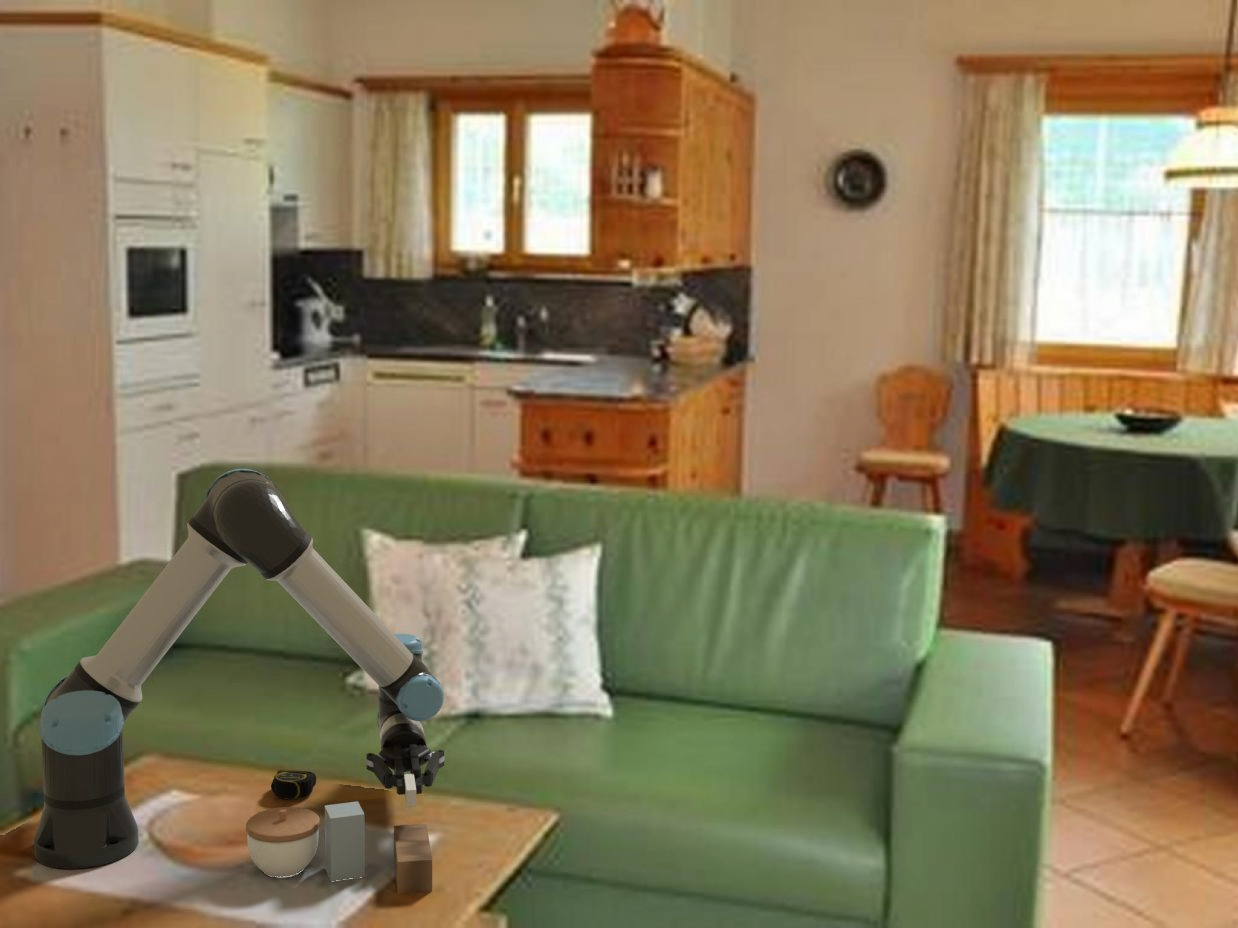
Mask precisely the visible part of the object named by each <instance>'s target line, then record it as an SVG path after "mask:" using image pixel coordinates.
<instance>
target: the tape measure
mask: <svg viewBox="0 0 1238 928" xmlns="http://www.w3.org/2000/svg"><path fill="white" fill-rule="evenodd" d="M316 783H317V774H315V773H314V772H311V771H307V770H283V769H281V770H278V771H277V772H276V774H275V775H274V776H273V779H272V782H271V785H270V789H271V792H273V794H274V795H275V797H277V798H279V799H280V798H281V799H284V800H298V799H302V798H305V797H308V796H309V795H311V794H312V793H313V790H314V787H315V785H316Z"/></svg>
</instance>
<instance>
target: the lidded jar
mask: <svg viewBox="0 0 1238 928" xmlns="http://www.w3.org/2000/svg"><path fill="white" fill-rule="evenodd" d="M245 825H246V826H245V830H246V835H247V836H246V838H247V847H248V852H249V855H250V858H251V860H252V862H253V864H254V865H255V866H256V867H257V868H258V869H259V870H260V871H261V872H265V874H267V875H268V876H272V877H275V876H276V877H277V876H278V877H280V876H281V877H283V876H290V875H294V874H296V873H299V872H300V871H302V870H303V869H304V868H306V867H308V865H310V863H312V861H313V859H314V857H315V855H316V852H317V849H318V845H319V838H320V837H319V836H320V817H319V815H318V813H316V812H314V811H313V810H311V809H308V808H303V807H297V806H283V807H282V806H280V807H275V808H274V807H273V808H269V809H266V810H265V809H264V810H262V811H260V812H259V811H258V812H256V813H255V814H253V815H252V816H250V818H248V819H247V821H246V824H245ZM304 870H305V869H304ZM265 874H264V875H265ZM268 876H267V877H268Z"/></svg>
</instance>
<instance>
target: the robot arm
mask: <svg viewBox="0 0 1238 928" xmlns="http://www.w3.org/2000/svg"><path fill="white" fill-rule="evenodd" d="M186 526H187V532H188V535H187V536H188V537H187V538H186V540H185V541H184V542H183V544H182V545H181V547H180V548H179V549H178V550H177V551H176V553H175V554H174V555H173V556H172V558H171V559H170V561H169V562H168V563H167V564H166V566H165V567H164V568H163V570H162V571H160V573H159V574H158V575H157V577H156V579H154V581H153V582H152V583H151V585H150V586H149V587H148V589H147V590H146V591H145V592H144V594H143V595H142V596H141V598H140V599H139V600H138V601H137V603H136V604H135V605H134V607H132V609H131V610H130V612H129V613H128V615H127V616H126V617H125V618H124V619H123V621H122V622H121V624H120V625H119V626H118V627H117V629H116V630H115V631H114V632H113V634H112V635H111V636H110V637H109V639H108V640H107V641H106V643H104V645H103V646H102V648H101V649H100V650H99V652H98V653H97V654H96V655H91V656H85V657H82V658H81V659H80V660H79V661H78V663H77V664H76V665H75V667H74V668H73V669H72V670H71V671H70V673H69V674H67V675H66V676H64V677H62V678H61V679H59V680H58V681H57V682H56V683H55V684H54V686H53V687H51V689H50V691H49V692H48V694H47V696H46V698H45V700H44V703H43V707H42V710H41V714H40V721H39V734H40V735H39V736H40V737H41V738H40V741H41V757H42V758H41V760H42V761H41V762H42V779H43V804H44V805H43V809H42V811H41V815H40V817H39V822H38V825H37V828H36V831H35V835H34V838H33V856H34V858H35V860H37V862H39V863H40V864H42V865H45V866H48V867H51V868H57V869H66V870H67V869H69V870H70V869H72V870H73V869H75V870H76V869H86V868H93V867H97V866H98V867H99V866H102V865H106V864H110V863H113V862H116V861H119V860H120V859H122V858H124V857H126V856H128V855H130V854H131V853H133V852H134V850H135V849H136V848H137V847H138V845H139V829H138V828H139V827H138V824H137V821H136V819H135V816H134V814H133V811H132V810H131V807H130V804H129V802H128V800H127V799H128V798H127V797H126V789H125V787H126V786H125V760H124V759H125V758H124V756H125V755H124V730H123V728H124V724H125V722H126V721H127V720H128V719H129V717H130V716H131V715H132V714H133V712H134V711H135V709H136V708H137V706H139V704H140V703H141V701H142V700H143V693H142V685H143V684H144V682H145V681H146V680H147V678H148V677H149V676H150V674H151V673H152V672H153V670H154V669H155V668H156V666H157V665H158V664H159V663H160V661H161V660H162V659H163V658H164V656H165V655H166V653H167V652H168V651H169V650H170V648H171V647H172V646H173V644H175V642H176V641H177V640H178V638H179V637H180V636H181V634H182V633H183V632H184V630H185V629H186V628H187V627H188V625H189V624H190V623H191V621H192V620H193V618H194V617H196V615H197V614H198V612H200V610H201V608H202V607H203V606H204V605H205V603H206V602H207V601H208V600H209V598H210V597H211V596H212V594H214V591H216V589H217V588H218V586H219V585H220V584H221V583H222V581H223V580H224V579H225V577H226V576H227V575H228V574H229V572H230V571H231V570H232V569H234V568H239V567H245V566H246V565H247V564H250V565H251V566H252V567H253V568H254V569H255V570H256V571H257V572H258V573H259V574H260V575H261V576H262V577H263V578H264V579H265V580H266V581H269V582H270V581H272V582H273V581H274V582H275V581H276V582H277V583H278V584H279V585H280V586H281V587H283V589H284V590H285V591H286V592H287V593H288V594H289V595H290V596H291V597H292V598H293V600H295V601H296V602H297V603H298V604H299V605H300V606H301V607H302V608H303V609H304V611H306V613H307V614H308V615H310V617H311V618H312V619H313V620H314V621H315V622H316V623H317V624H318V625H319V626H320V627H321V628H322V629H323V630H324V631H325V632H326V633H327V634H328V635H329V636H330V637H331V638H332V639H333V640H334V641H335V642H336V643H337V645H339V647H341V649H343V651H345V653H346V654H347V655H349V657H350V658H352V660H353V662H355V663H356V664H357V665H358V666H359V667H360V668H361V669H362V670H363V671H364V672H365V673H366V674H367V675H368V676H369V678H370V679H372V680H373V681H374V682H375V684H376V685H377V686H378V698H377V699H378V701H377V702H378V705H377V706H378V708H377V709H378V710H377V711H378V712H377V722H376V723H377V726H378V728H379V739H380V740H379V741H380V742H379V743H380V751H379V752H378V753H377V754H375V753H372V752H369V753H366V759H365V760H366V764H365V765H366V770H368V771H370V772H372V773H373V774H374V776H375V777H376V778H377V779H378V781H379V782H380V783H381V785H382V786H383V787H384V788H385V789H387V790H390V789H393V787H395V789H396V794H397V795H399V796H400V795H404V798H405V806H406V808H415V807H417V795H420V794H422V793H423V785H424V787H428V788H429V787H431V786H433V783H434V781H435V779H436V777H437V774H438V772H439V769H440V770H441V768H442V767H444V766H445V749H438V750H436V751H432V749H431V748H429V747H428V745H427V740H426V735H425V732H424V731H425V730H424V727H423V722H424V721H428V720H431V719H432V718H433V717H435V716H436V715H437V714H438V713H439V712H440V711H441V709H442V706H443V704H444V700H445V697H444V690H443V688H442V686H441V683H440V681H439V680H438V679H437V678H436V677H435V676H434V675H433V674H432V672H431V671H430V670H429V668H428V667H427V666H426V665H425V663H424V662H423V659H422V658H423V654H424V652H423V649H422V647H423V646H422V640H421V639H420V637H418V636H417V635H414V634H410V633H393V632H392V630H391V629H390V628H389V627H388V626H387V625H386V624H385V623H384V622H383V621H382V620H381V619H380V617H378V615H376V614H375V612H374V611H373V610H372V609H371V608H370V607H369V606H368V605H367V604H366V603H365V602H364V601H363V599H361V597H360V596H359V595H358V594H357V593H356V592H355V591H354V590H353V589H352V588H351V587H350V585H348V584H347V582H345V581H344V580H343V578H341V577H340V575H339V574H338V573H337V572H336V571H335V570H334V569H333V568H332V567H331V566H330V565H329V564H328V563H327V562H326V560H325V559H324V558H323V557H322V556H321V555H320V554H319V553H318V552H317V551H316V550H315V549H314V546H313V543H314V542H313V541H314V539H313V537H312V536H311V535H310V534H309V533H308V532H307V531H306V530H305V529H304V527H303V526H302V525H301V523H300V522H299V520H298V519H297V517H296V516H295V515H294V513H293V512H292V510H291V509H290V507H289V505H288V502H287V501H286V499H285V498H284V496H283V495H282V494H281V492H280V490H279V489H278V487H277V485H276V484H275V482H273V481H272V480H271V479H270V478H269V477H268V476H266V475H264V474H263V473H260V472H259V471H256V470H253V469H250V468H235V469H231V470H228V471H226V472H224V473H222V474H220V475H219V476H218V477H217V478H216V479H215V480H214V481H213V482H212V483H211V484H210V486H209V488H208V491H206V495H205V498H204V502H202V504H201V506H199V508H198V509H197V510H196V512H195V513H194V514H193V515H192V517H191V518H190V520H188V522H187V524H186ZM425 764H426V767H425V768H424V772H423V773H422V768H421V767H423V765H425ZM392 770H393V771H394V774H393V771H392ZM407 772H410V773H407Z"/></svg>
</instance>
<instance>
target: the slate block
mask: <svg viewBox="0 0 1238 928" xmlns="http://www.w3.org/2000/svg"><path fill="white" fill-rule="evenodd" d="M365 815H366V814H365V813H364V810H363V809H362V806H361V805H360V802H359V801H358V800H357V801H351V802H343V803H334V804H327V805H324V861H325V862H324V863H325V864H324V867H326V869H325V871H326V870H327V871H326V873H327V872H328V873H327V875H328V874H329V876H330V878H329V880H330V879H331V881H336V880H343V879H349V878H353V879H352V880H355V879H354V878H359V879H361V878H360V877H364V876H365V877H366V873H365V872H366V863H365V862H366V852H365V851H366V844H365V842H366V841H365V840H366V839H365V834H366V833H365V832H366V831H365V830H366V828H365V822H366V821H365V819H366V818H365ZM329 876H328V877H329ZM331 881H330V882H331Z"/></svg>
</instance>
